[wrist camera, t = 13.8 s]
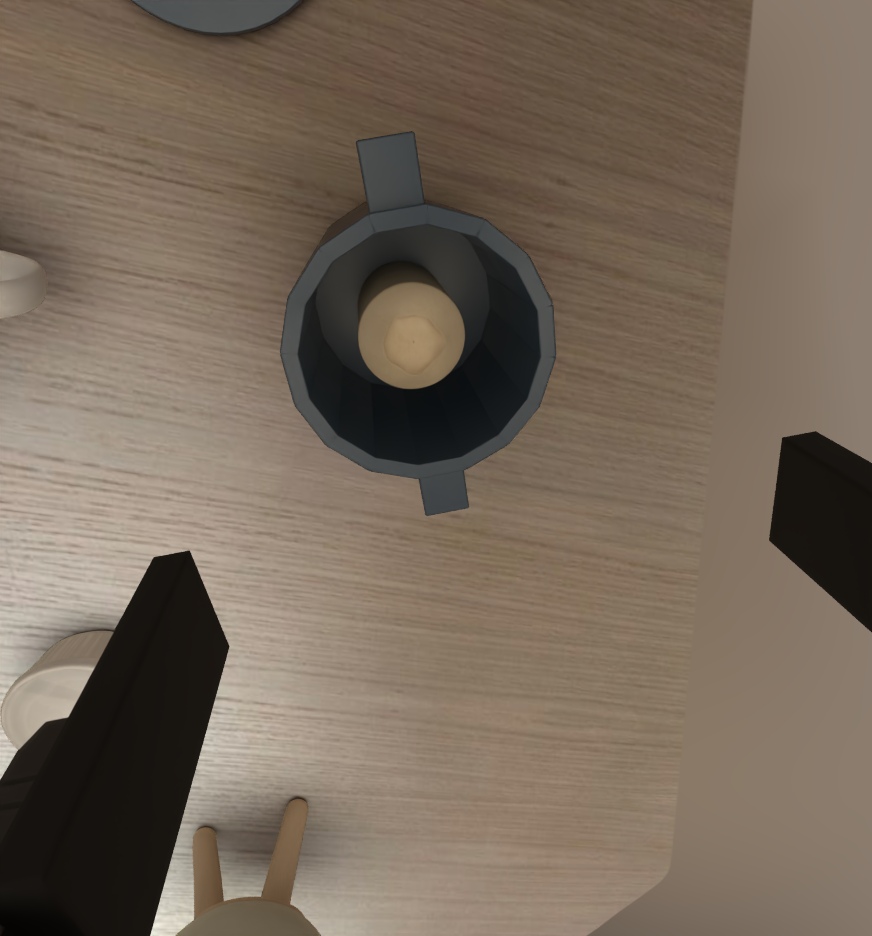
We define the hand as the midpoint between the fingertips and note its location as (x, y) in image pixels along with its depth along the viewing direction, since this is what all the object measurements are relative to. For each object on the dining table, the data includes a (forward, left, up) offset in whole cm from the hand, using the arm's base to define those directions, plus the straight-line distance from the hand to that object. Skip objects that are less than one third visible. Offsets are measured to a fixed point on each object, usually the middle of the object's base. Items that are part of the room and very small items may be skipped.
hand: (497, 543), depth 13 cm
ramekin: (+29, +25, -28) cm, 48 cm away
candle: (0, 0, -28) cm, 28 cm away
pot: (0, 0, -28) cm, 28 cm away
